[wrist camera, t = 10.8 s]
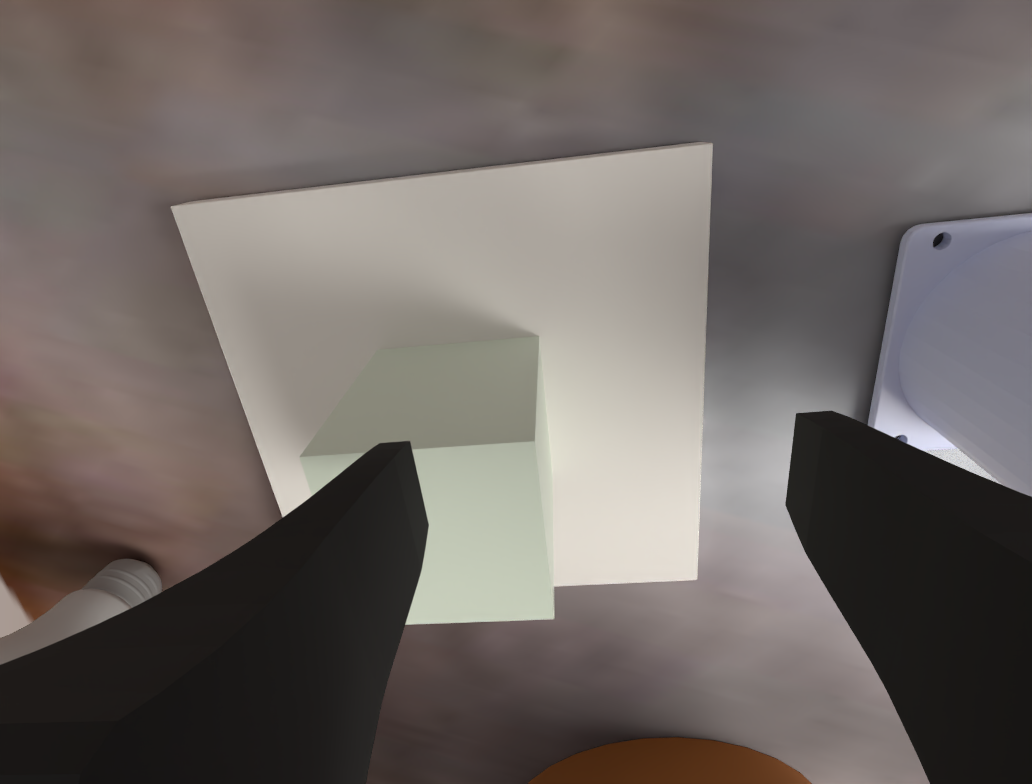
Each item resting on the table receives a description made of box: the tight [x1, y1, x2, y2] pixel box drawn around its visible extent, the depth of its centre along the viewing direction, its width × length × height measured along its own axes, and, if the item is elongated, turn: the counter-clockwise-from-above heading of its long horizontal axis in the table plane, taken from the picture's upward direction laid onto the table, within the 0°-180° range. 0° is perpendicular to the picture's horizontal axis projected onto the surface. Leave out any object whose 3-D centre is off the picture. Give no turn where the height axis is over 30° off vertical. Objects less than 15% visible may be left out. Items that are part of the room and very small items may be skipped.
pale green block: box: [299, 336, 554, 625], centre depth 17 cm, size 5×5×7 cm
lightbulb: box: [0, 559, 162, 665], centre depth 20 cm, size 6×6×11 cm
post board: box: [170, 142, 713, 586], centre depth 18 cm, size 16×16×6 cm
